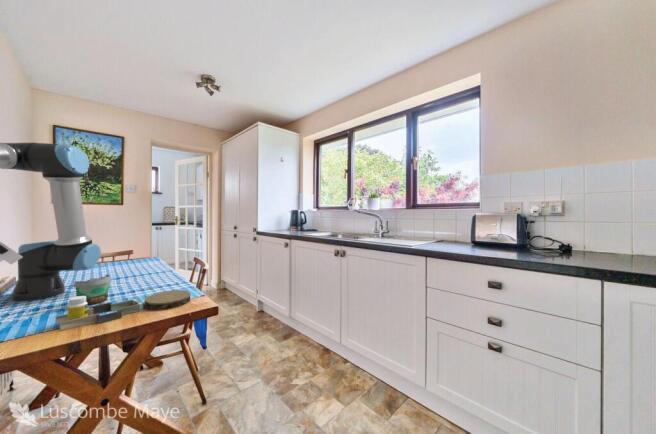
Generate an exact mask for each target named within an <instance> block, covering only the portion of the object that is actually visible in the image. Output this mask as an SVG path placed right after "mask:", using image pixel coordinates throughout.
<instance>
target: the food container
mask: <svg viewBox="0 0 656 434" xmlns="http://www.w3.org/2000/svg"><path fill="white" fill-rule="evenodd" d="M111 281H112V277H111V275H110V274H105V276H103V277H96V278H91V279H87V280H82V281H81V280H80V281H78V280H76V281H74V283H73V286H72V287H74V288H75V294H76V297H77V296H86V302H87V303H88V306H89V307H91V306H96V305H101V304H104V303H106V302H107V301H108V297H109V296H108V295H109V287H110V282H111Z"/></svg>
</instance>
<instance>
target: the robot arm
mask: <svg viewBox="0 0 656 434" xmlns="http://www.w3.org/2000/svg"><path fill="white" fill-rule="evenodd" d="M89 168H90V161H89V158H88V156H87V154H86V153H85V151H83V150H82V149H81V148H79V147H78V146H75V145H72V144H64V143H45V142H0V169H1V170H17V171H27V172H34V173H35V172H36V173H41V174H42V178H43V179H44V180H46V181H47V182H48V183H49V187H50V188H49V189H50V195H51V200H52V207H53V213H54V218H55V219H54V221H55V225H56V231H57V237H58V238H57V239H56V240H48V241H39V242H29V243H24V244H21V245H19V246H18V252H16V250H13V249H12V248H11V247H9V246H7V245H6V244H5V243H3V242H2V241H0V263H1V262H3V261H4V262H6V263H8V264H10V265H13V264H14V263H17V275H18V276H17V277H18V278H17V279H18V280H17V282H16V284H15V285H14V287H13V290H12V292H11V300H13V301H17V302H18V301H19V302H20V301H32V300H40V299H44V298H50V297H53V296H57V295H61V294H63V293H65V291H66V289H65V283H64V281H63V280H62V278H61V276H60V271H64V272H67V271H70V272H71V271H74V272H79V271H87V270H88V271H89V270H90V269H92V268H93V267H95V266H96V265H97V263H98V262H99V260H100V258H101V255H102V254H101V251H102V250H101V247H100V246H99V244H95V243H93V239H92V237H90V236H89V235H87V230H86V222H85V216H84V208H83V207H84V206H83V200H82V195H81V194H82V193H81V187H80V181H81V180H83V178H84V174H86V173H87V172H88V171H89Z"/></svg>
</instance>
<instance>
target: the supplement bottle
mask: <svg viewBox="0 0 656 434" xmlns="http://www.w3.org/2000/svg"><path fill="white" fill-rule="evenodd" d="M88 309H89V307H88V303H87V302H86V296H77V295H76V296H73V297H70V298H69V303H68V305H67V314H68V321H69V320H73V319H78V318H82V317H86V316H88Z"/></svg>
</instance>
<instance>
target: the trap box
mask: <svg viewBox="0 0 656 434" xmlns="http://www.w3.org/2000/svg"><path fill="white" fill-rule="evenodd" d="M143 306H144V305H143V302H141V301H139V300H138V299H136V298H134V299H133V298H132V299H130V300H124V301H119V302H115V303H112V302H104V303H100V304H96V305H91V306H89V307H88V316H86V317H82V318H78V319H73V320H69V321H68V313H65V314H64V313H63V314H61V315H56V316H55V324H56V325H58V324H59V331H60V332H62V331H66V330H69V329H74V328H79V327H83V326H87V325H89V324H93V323H97V324H98V325H100V324H103V323H104V324H105V323H107V322H112V321H115V320H119V319H122V316H124V315H129V314H132V313H137V312H140V311H143V310H144V308H143ZM103 312H104V313H106V314H103ZM107 312H108V313H107ZM99 313H100V314H99Z"/></svg>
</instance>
